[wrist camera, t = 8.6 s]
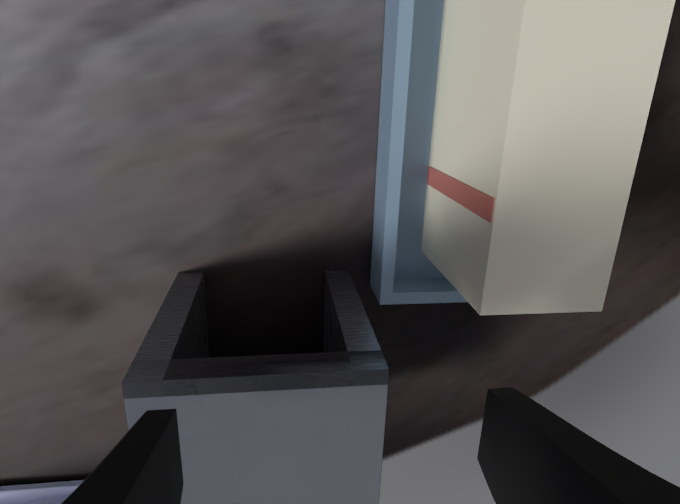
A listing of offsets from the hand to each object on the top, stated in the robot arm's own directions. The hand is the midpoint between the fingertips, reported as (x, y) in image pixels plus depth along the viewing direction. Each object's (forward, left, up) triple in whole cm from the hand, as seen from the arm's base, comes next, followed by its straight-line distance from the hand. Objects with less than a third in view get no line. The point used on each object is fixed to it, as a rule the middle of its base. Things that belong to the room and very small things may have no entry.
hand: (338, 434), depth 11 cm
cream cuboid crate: (+7, +7, -9) cm, 13 cm away
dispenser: (-2, -3, -10) cm, 10 cm away
